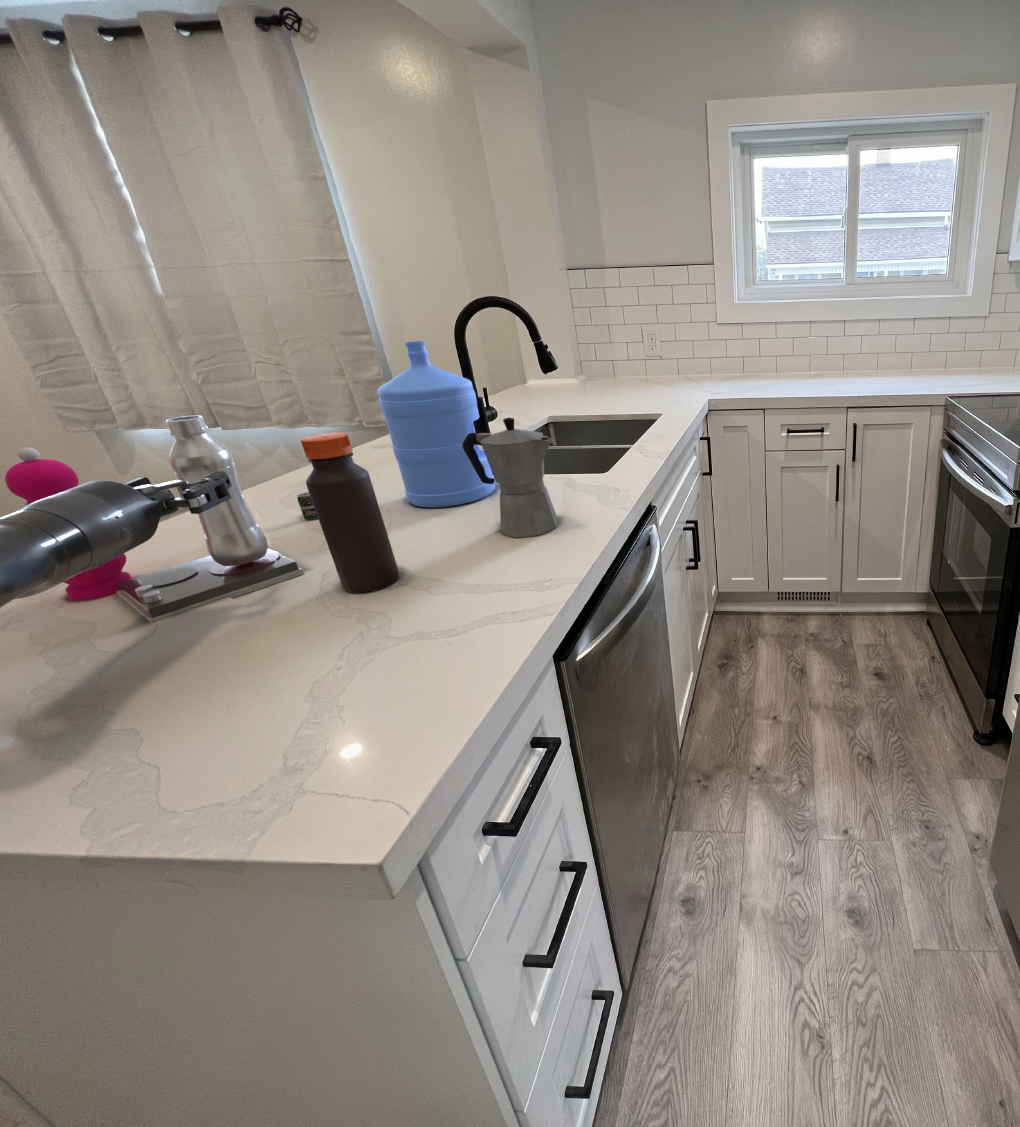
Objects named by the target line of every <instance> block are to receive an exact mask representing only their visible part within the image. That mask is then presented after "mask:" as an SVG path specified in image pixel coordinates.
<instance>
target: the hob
mask: <svg viewBox="0 0 1020 1127" xmlns="http://www.w3.org/2000/svg"><path fill="white" fill-rule="evenodd" d="M302 575H305V572H304V570H303V568H301V567H300V566H298V563H297V561H295V560H294V559H291V558H289V557H288V556H285V555H283V554H281V553H280V552H279V551H277V550H274V549H271V548H269V547H268V549H267V552H266V555H265V556H263V557H262V558H260V559H258V560H256V561H253V562H250V563H246V564H242V565H236V566H222V565H220V564H219V563H217V562H215V561H214V560H213V558H212V557H211V555H207V556H205V557H200V558H198V559H194V560H190V561H188V562H183V563H180V564H177V565H174V566H169V567H167V568H163V569H160V570H156V571H153V572H148V573H146V574H142V575H139V576H136V577H131V578H132V579H128V580H125V581H121V582H118V583H116V585H117V587H118V589H119V591H116V594H117V595H118V596H119V597H120V598H121V599H123V600H124V601H125V602H126V603H127V604H128V605H130V606H131V607H132V608H133V609H134V610H135V611H137V612H138V613H139V614H140V615H142V616H143V617H144V618H145V619H146V620H147V621H149V622H150V623H153V622H156V621H160V620H162V619H165V618H168V617H172V616H173V615H174V616H175V615H177V614H179V613H183V612H186V611H188V610H191V609H195V608H199V607H201V606H203V605H207V604H210V603H214V602H215V601H219V600H222V599H224V598H228V597H229V598H230V599H235V598H237V597H240V596H243V595H246V594H250V593H252V592H255V591H258V590H260V589H264V588H267V587H270V586H273V585H275V584H278V583H281V582H284V581H288V580H290V579H293V578H296V577H299V576H302Z"/></svg>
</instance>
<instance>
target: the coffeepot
mask: <svg viewBox="0 0 1020 1127" xmlns="http://www.w3.org/2000/svg"><path fill="white" fill-rule="evenodd" d="M502 422H503V423H504V426H505V428H506V429H505V430H503V431H499V432H496V433H490V432H475V433H469V434H468V435H467V437H466V438H465V440H464V442H463V445H462V446H463V449H464V451H465V453H466V455H467V456H468V458H469V460H470V462H471V463H472V465H473V467H474V469H475V471H476V473H477V474H478V476H479V478H480V480H481V481H482V482H483V483H485V484H493V483H494V481H495V483H497V484H498V485H499V489H500V492H499V514H500V516H499V517H500V518H499V519H500V533H501V534H503V535H504V536H506V537H509V538H516V539H517V538H519V539H521V538H531V537H536V536H541V535H544V534H548V533H550V532H552V531H553V530H555V529H556V528H557V527H558V521H559V518H558V516H557V513H556V511H555V508H554V505H553V503H552V500H551V497H550V494H549V492H548V488H547V487H546V485H545V482H544V476H545V457H546V454H547V451H548V450H549V448H550V445H551V444H553V443H554V439H553V438H552V437H549V436H547V435H544V433H543V432H541V431H534V430H526V429H524V430H523V429H519V428H518V429H517V428H515V418H514V417H505V418H504V419H502ZM474 445H478V446H479V447H480V446H481V449H482V450H483V451H484V453H485V455H486V458H487V461H488V463H489V466H490V468H491V471H492V475H493V477H494V478H489V477H487V476H486V474H485V469H484V466H483V465H482V463H481V462H480V460H479V457H478V455H477V452H476V450H475V448H474Z"/></svg>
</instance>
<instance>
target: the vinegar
mask: <svg viewBox="0 0 1020 1127" xmlns="http://www.w3.org/2000/svg"><path fill="white" fill-rule="evenodd" d="M300 443H301V446H302V449H303V452H304V455H305V458H306V459H307V462H308V463H311V465H312V470H311V472H309V475H308V476H307V478H306V480H305V485H306V488H307V491H308V492H309V494H310V497H311V499H312V502H313V505H314V508H315V511H316V513H317V516H318V519H317V520H318V521H319V525H320V527H321V531H322V532H323V536H324V539H325V542H326V544H327V548H328V550H329V553H330V555H331V558H332V561H333V564H334V567H335V570H336V572H337V576H338V578H339V581H340V584H341V587H342V588H343V589H344V591H346V592H349V593H353V594H354V593H355V594H356V593H357V594H359V593H369V592H375V591H377V590H378V591H379V590H381V589H384V588H386V587H388V586H390V585H392V584H394V583H395V582H396V581H397V580H398V579H399V578H400V570H399V568H398V565H397V560H396V557H395V554H394V552H393V548H392V545H391V542H390V538H389V535H388V531H387V529H386V525H385V522H384V518H383V515H382V512H381V509H380V506H379V503H378V499H377V495H376V492H375V488H374V486H373V483H372V480H371V476H370V473H369V471H368V470H367V469H365V468H364V467H362V466H360V465H359V464H357V463H355V462H354V460H353V456H354V453H353V450H354V449H353V447H352V443H351V441H350V437H349V435H348V433H346V432H325V433H319V434H318V433H317V434H313V435H309V436H305V437H303V438H301V439H300Z"/></svg>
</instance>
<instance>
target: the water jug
mask: <svg viewBox="0 0 1020 1127" xmlns="http://www.w3.org/2000/svg"><path fill="white" fill-rule="evenodd" d="M404 345H405V346H406V350H407V351H406V354H407V357H408V361H409V367H408V368H407V369H406V370H404V371H403V372H401V373H400V374H398V375H397V376H395V377H393V378H391V379H390V380H388V381H387V382H385V383H384V384H382V385H381V386H379V387H378V389H377V395H378V401H379V405H380V409H381V412H382V414H383V416H384V420H385V423H386V426H387V430H388V433H389V434H388V435H389V437H390V441H391V444H392V450H393V455H394V458H395V460H396V461H397V465H398V469H399V472H400V476H401V479H402V482H403V485H404V493H405V496H406V499H407V501H408V502H409V503H410V504H412V505H414V506H417V507H421V508H428V509H429V508H431V509H432V508H435V509H436V508H437V509H438V508H449V507H456V506H461V505H465V504H470V503H474V502H477V501H478V500H482V499H484V498H486V497H488V496H490V495H491V494H492V493H493V492H494V491H495V489H496V481H494V483H493V484H485V483H483V482H482V481H481V480H480V478H479V476H478V474H477V473H476V471H475V469H474V467H473V465H472V463H471V462H470V460H469V458H468V456H467V455H466V453H465V451H464V449H463V446H462V445H463V442H464V440H465V438H466V437H467V435H468V434H469V433H476V428H475V423H474V422H475V421H477V420H478V419H479V418H480V413H479V408H478V400H477V396H476V392H475V390H474V386H473V382H472V381H471V380H470V379H469V378H467V377H463V376H461V375H458V374H456V373H452V372H449V371H447V370H444V369H441V368H438V367H435V366H433V365H432V364H431V362H430V359H429V353H428V350H427V349H426V341H424V340H423V341H422V340H421V341H418V340H417V341H407V342H404ZM474 448H475V450H476V452H477V455H478V457H479V460H480V462H481V463H482V465H483V466H484V469H485V474H486V476H487V477H489V478H494V476H493V473H492V471H491V468H490V466H489V463H488V461H487V458H486V455H485V453H484V450H483V449H482V448H480V445H474Z"/></svg>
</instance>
